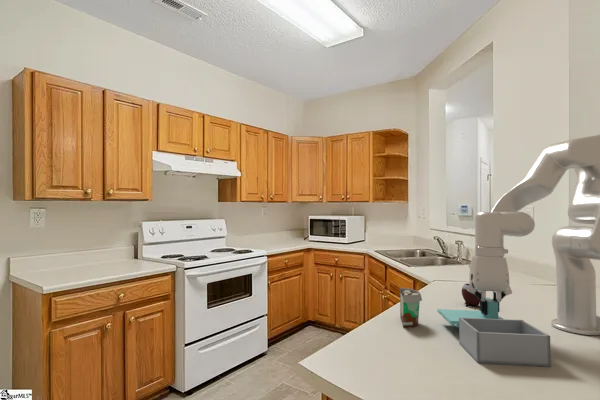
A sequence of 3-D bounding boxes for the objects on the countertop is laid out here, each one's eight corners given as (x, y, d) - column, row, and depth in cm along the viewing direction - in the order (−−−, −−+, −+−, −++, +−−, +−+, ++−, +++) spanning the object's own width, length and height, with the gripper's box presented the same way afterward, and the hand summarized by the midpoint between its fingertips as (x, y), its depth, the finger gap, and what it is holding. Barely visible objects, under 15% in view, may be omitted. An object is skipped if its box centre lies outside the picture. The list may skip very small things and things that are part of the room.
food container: (424, 330, 102) (424, 296, 103) (403, 329, 104) (403, 295, 104) (419, 318, 114) (419, 288, 115) (399, 317, 116) (399, 287, 116)
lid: (491, 317, 109) (491, 295, 109) (511, 331, 96) (511, 305, 97) (437, 315, 111) (437, 293, 111) (450, 327, 98) (450, 303, 98)
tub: (522, 346, 91) (521, 320, 91) (550, 366, 79) (550, 336, 79) (459, 343, 92) (459, 317, 93) (477, 362, 80) (477, 332, 81)
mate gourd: (473, 309, 127) (472, 268, 128) (455, 303, 134) (455, 265, 135) (487, 307, 130) (486, 267, 131) (469, 302, 137) (469, 264, 138)
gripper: (510, 252, 107) (511, 311, 106) (457, 250, 108) (457, 309, 108) (524, 254, 99) (524, 319, 98) (466, 253, 101) (466, 316, 100)
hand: (489, 313), depth 103 cm, fingers closed on lid
